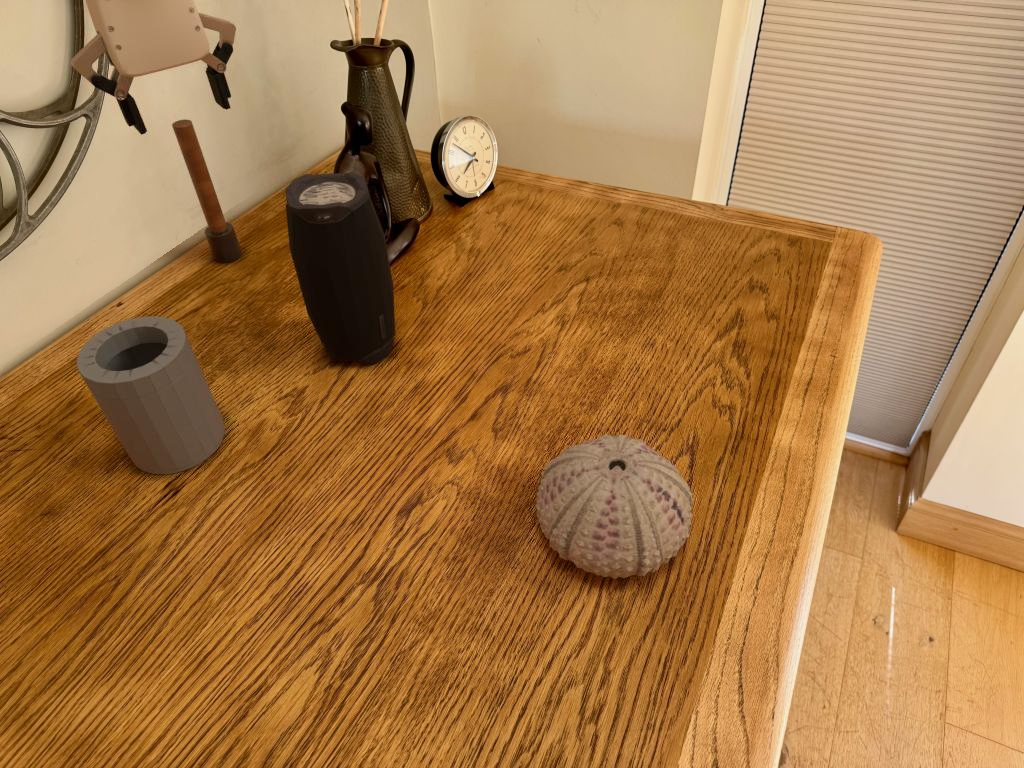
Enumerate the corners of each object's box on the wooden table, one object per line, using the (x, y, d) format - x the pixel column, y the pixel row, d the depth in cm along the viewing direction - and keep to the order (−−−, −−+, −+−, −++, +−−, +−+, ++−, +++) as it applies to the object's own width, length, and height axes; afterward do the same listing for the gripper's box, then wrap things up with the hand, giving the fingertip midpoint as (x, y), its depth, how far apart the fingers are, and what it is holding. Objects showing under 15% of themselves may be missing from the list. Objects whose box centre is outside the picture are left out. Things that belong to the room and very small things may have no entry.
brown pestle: (209, 262, 95) (159, 129, 82) (220, 247, 97) (174, 116, 85) (235, 263, 94) (189, 130, 82) (246, 248, 97) (203, 117, 85)
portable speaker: (308, 340, 83) (263, 183, 69) (382, 312, 86) (354, 157, 73) (336, 383, 77) (293, 221, 64) (415, 351, 81) (390, 191, 67)
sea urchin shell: (643, 448, 70) (652, 388, 64) (719, 562, 60) (738, 503, 55) (513, 488, 66) (511, 428, 61) (573, 615, 57) (577, 557, 52)
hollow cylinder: (112, 470, 69) (54, 378, 61) (158, 404, 76) (111, 313, 67) (200, 478, 68) (154, 386, 60) (239, 411, 75) (202, 319, 66)
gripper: (194, -74, 77) (242, 87, 89) (19, -42, 70) (96, 129, 82) (220, -62, 73) (266, 106, 85) (36, -26, 66) (115, 152, 77)
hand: (183, 117), depth 83 cm, fingers open, 9 cm apart
